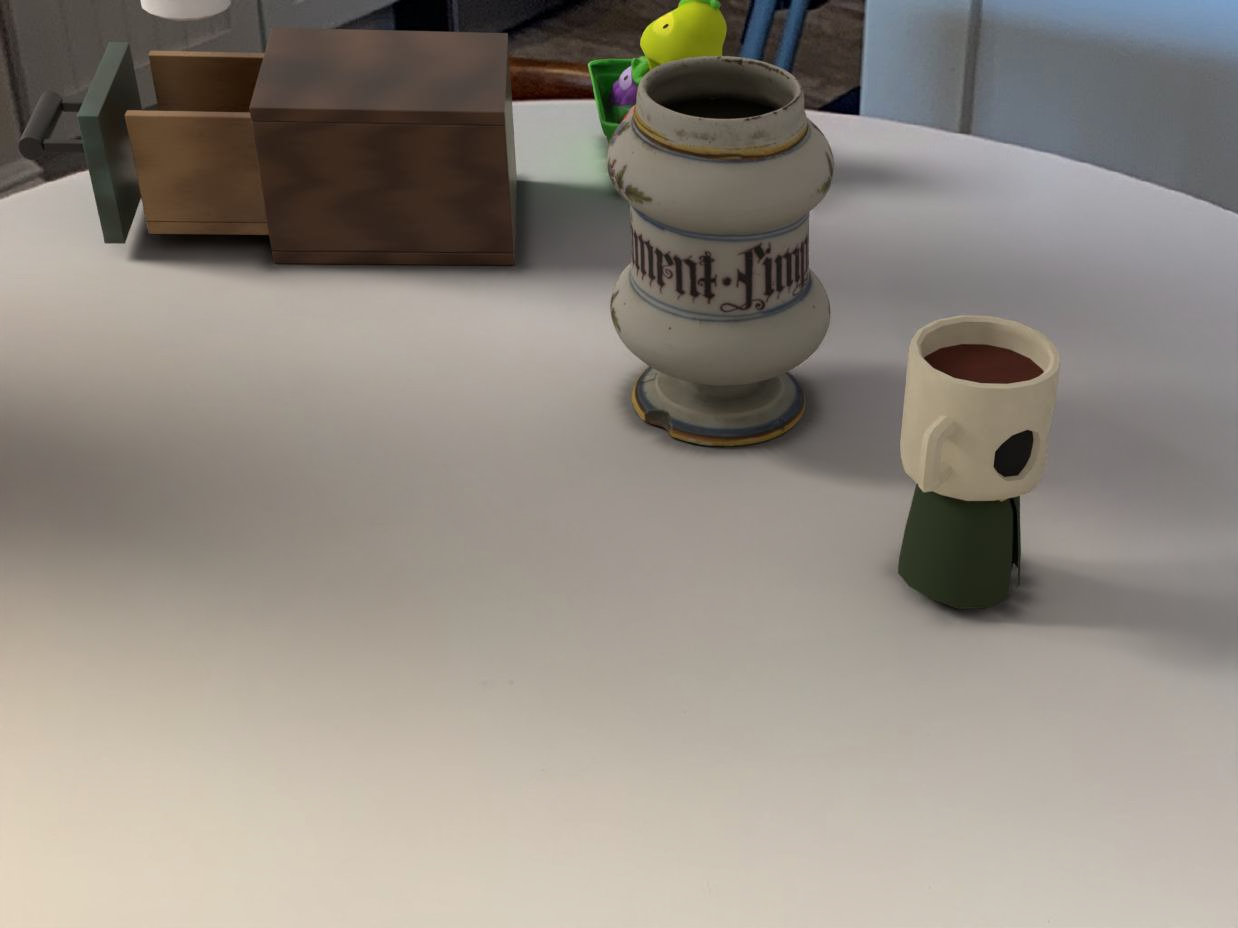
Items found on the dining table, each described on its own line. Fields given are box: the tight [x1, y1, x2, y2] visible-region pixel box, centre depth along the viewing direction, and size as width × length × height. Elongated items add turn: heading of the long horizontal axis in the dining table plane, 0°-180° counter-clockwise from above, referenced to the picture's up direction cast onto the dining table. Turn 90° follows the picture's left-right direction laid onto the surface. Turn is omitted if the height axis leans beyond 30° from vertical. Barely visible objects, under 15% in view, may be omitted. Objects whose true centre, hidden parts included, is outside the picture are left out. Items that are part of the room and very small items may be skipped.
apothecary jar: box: [606, 55, 835, 447], centre depth 102 cm, size 12×12×18 cm
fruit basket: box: [587, 0, 728, 145], centre depth 127 cm, size 11×9×11 cm
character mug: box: [897, 314, 1062, 609], centre depth 92 cm, size 11×7×13 cm, turn 151°
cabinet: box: [249, 27, 518, 266], centre depth 119 cm, size 15×13×10 cm
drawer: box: [17, 41, 269, 245], centre depth 117 cm, size 18×11×8 cm, turn 97°
